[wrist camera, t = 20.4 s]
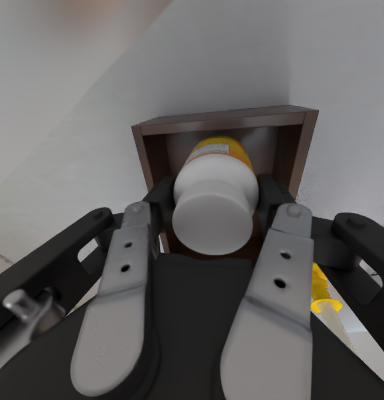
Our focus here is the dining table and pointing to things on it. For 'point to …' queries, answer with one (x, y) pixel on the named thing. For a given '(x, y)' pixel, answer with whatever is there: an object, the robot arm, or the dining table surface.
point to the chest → (248, 135)
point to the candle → (327, 306)
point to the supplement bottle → (215, 196)
